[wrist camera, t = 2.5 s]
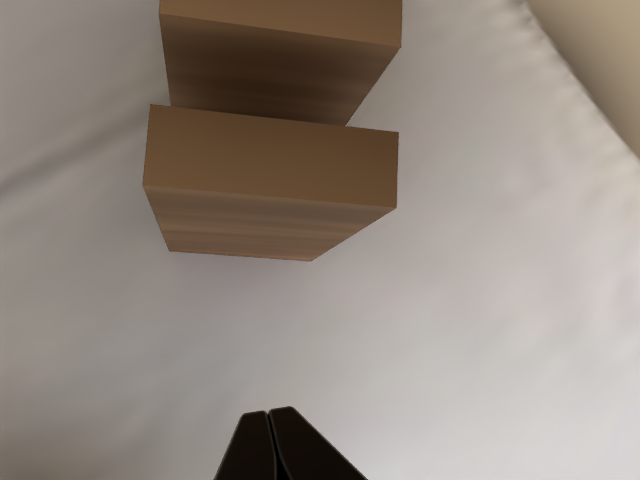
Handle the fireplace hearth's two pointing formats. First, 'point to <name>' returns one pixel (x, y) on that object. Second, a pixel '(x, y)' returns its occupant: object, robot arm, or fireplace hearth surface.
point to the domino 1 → (264, 182)
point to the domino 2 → (278, 55)
